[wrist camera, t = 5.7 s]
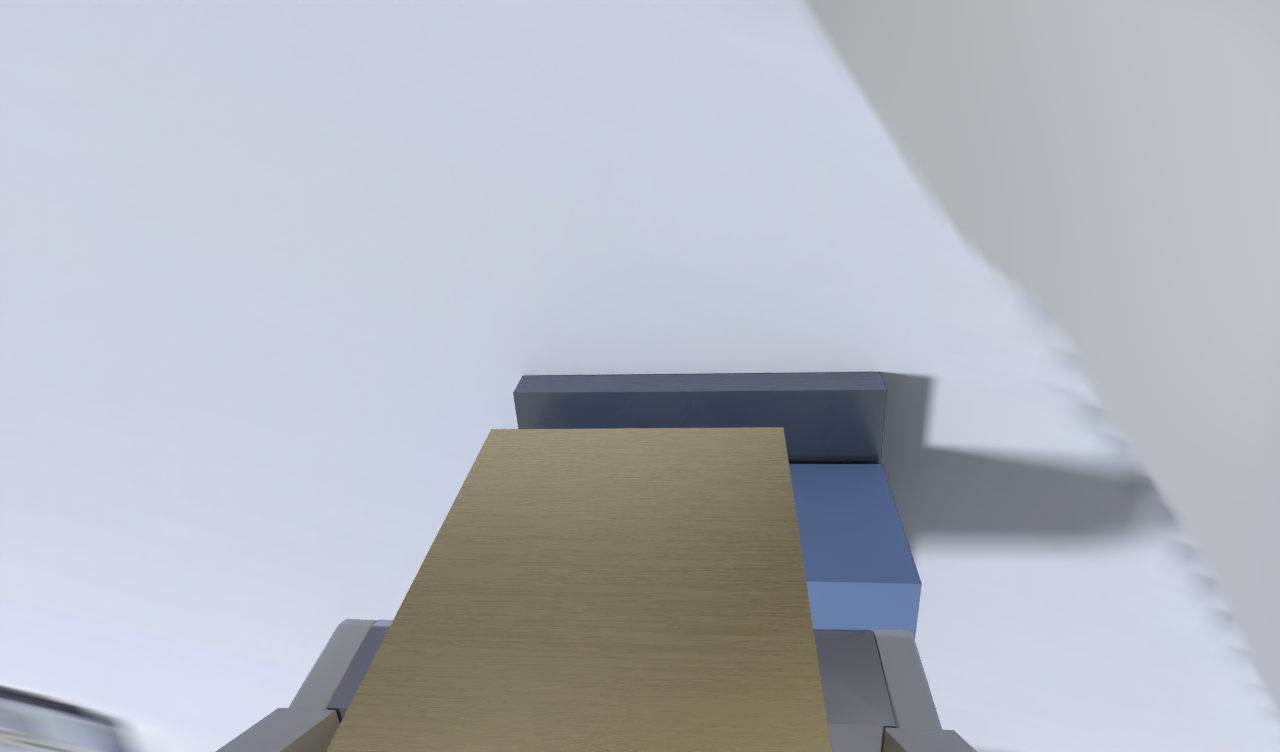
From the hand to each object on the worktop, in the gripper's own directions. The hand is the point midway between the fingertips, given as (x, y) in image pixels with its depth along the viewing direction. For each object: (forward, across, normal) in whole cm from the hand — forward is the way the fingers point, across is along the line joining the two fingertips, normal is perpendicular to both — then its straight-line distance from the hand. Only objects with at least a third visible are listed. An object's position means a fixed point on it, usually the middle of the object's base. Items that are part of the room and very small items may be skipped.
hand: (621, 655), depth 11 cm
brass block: (+3, 0, 0) cm, 3 cm away
